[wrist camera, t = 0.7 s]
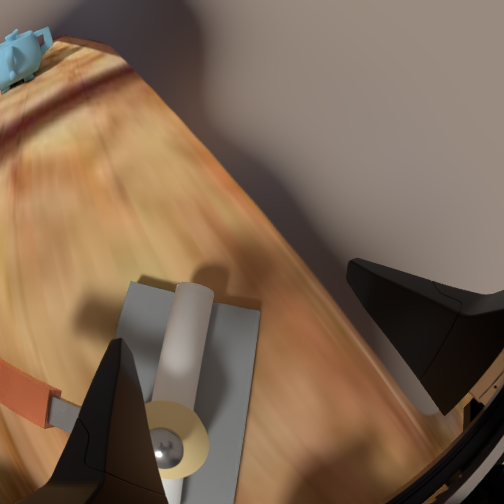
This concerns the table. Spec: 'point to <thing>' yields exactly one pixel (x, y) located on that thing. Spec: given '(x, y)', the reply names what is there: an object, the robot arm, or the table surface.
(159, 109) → the table surface
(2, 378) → the valve lever
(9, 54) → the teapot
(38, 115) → the table surface
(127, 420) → the robot arm
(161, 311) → the valve base
